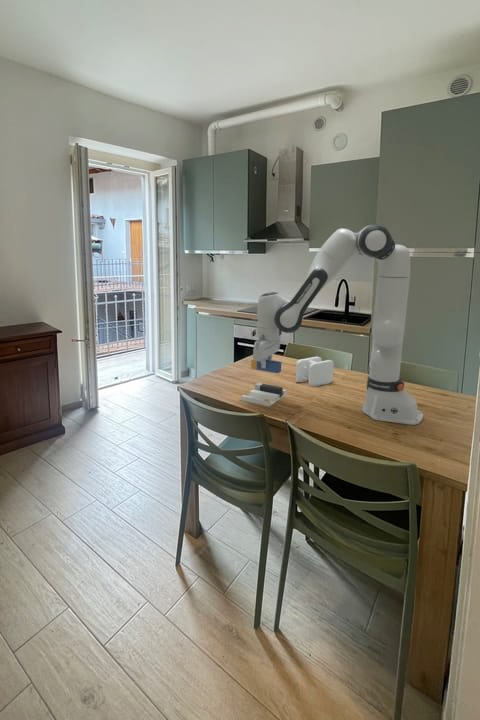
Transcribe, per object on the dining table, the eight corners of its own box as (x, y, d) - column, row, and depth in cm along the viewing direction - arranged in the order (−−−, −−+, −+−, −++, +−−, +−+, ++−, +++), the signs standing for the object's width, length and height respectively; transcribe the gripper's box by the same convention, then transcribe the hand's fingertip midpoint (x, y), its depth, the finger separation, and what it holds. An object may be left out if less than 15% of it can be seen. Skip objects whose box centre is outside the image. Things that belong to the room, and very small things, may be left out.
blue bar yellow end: (280, 371, 164) (281, 361, 163) (278, 373, 162) (278, 363, 161) (254, 367, 169) (254, 357, 168) (251, 368, 167) (251, 359, 166)
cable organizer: (308, 388, 187) (310, 364, 184) (294, 382, 196) (295, 359, 193) (333, 383, 194) (334, 360, 191) (318, 377, 203) (319, 355, 200)
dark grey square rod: (282, 396, 175) (282, 387, 174) (279, 398, 173) (279, 389, 172) (258, 391, 181) (258, 382, 180) (254, 393, 179) (255, 384, 178)
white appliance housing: (285, 396, 177) (286, 389, 176) (269, 408, 164) (269, 401, 163) (259, 391, 184) (260, 384, 183) (241, 402, 171) (241, 395, 170)
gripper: (264, 339, 151) (263, 374, 155) (283, 329, 169) (281, 361, 173) (249, 337, 154) (248, 372, 157) (269, 328, 171) (268, 359, 175)
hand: (266, 366), depth 165 cm, fingers closed on blue bar yellow end, 3 cm apart
